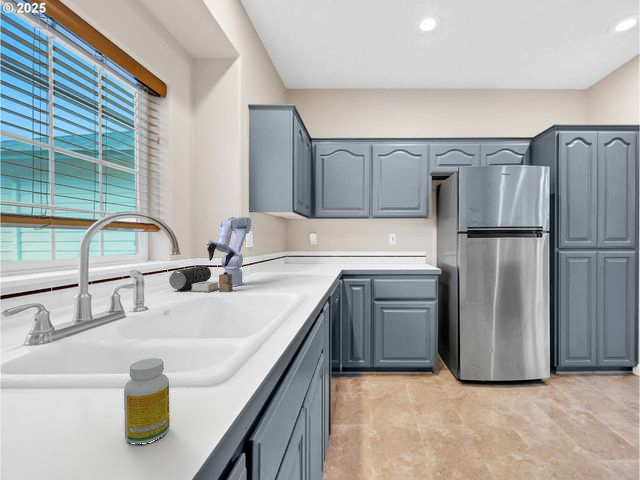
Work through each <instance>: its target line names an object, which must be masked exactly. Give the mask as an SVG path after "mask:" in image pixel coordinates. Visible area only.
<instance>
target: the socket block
mask: <svg viewBox="0 0 640 480" xmlns="http://www.w3.org/2000/svg"><path fill="white" fill-rule="evenodd" d="M215 291H219V281H205V282H199V283H194V284H192V286H191V289H190V290H189V292H190V293H207V292H209V293H212V292H215Z"/></svg>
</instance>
